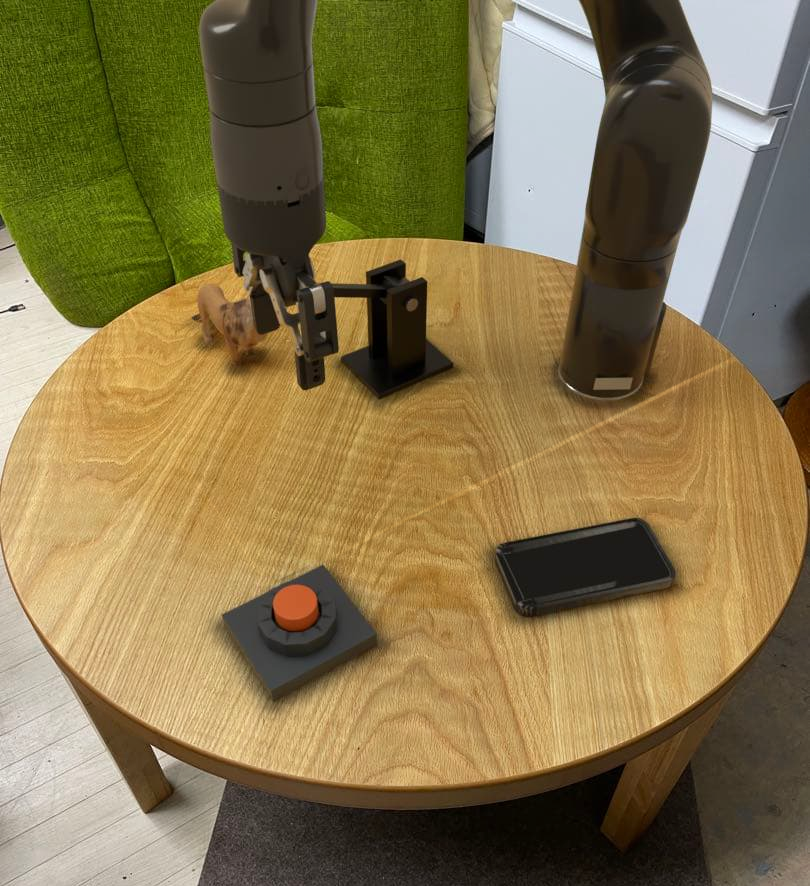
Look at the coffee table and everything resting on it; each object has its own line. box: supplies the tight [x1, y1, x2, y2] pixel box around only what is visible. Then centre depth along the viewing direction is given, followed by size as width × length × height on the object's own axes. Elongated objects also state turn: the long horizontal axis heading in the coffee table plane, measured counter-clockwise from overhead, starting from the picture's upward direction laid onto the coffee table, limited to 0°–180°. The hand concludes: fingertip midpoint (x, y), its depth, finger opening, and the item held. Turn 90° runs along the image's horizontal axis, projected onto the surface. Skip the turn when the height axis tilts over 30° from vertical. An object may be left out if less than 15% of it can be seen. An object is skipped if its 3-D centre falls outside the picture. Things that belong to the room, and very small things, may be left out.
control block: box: [221, 564, 378, 703], centre depth 73 cm, size 10×9×4 cm
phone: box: [494, 517, 677, 618], centre depth 79 cm, size 8×1×15 cm
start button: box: [273, 585, 319, 632], centre depth 71 cm, size 4×4×2 cm
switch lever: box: [318, 276, 411, 305], centre depth 87 cm, size 14×5×2 cm, turn 124°
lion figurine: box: [191, 283, 269, 366], centre depth 97 cm, size 15×5×9 cm, turn 47°
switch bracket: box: [340, 259, 454, 400], centre depth 94 cm, size 10×8×12 cm
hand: (289, 357), depth 73 cm, fingers open, 8 cm apart
